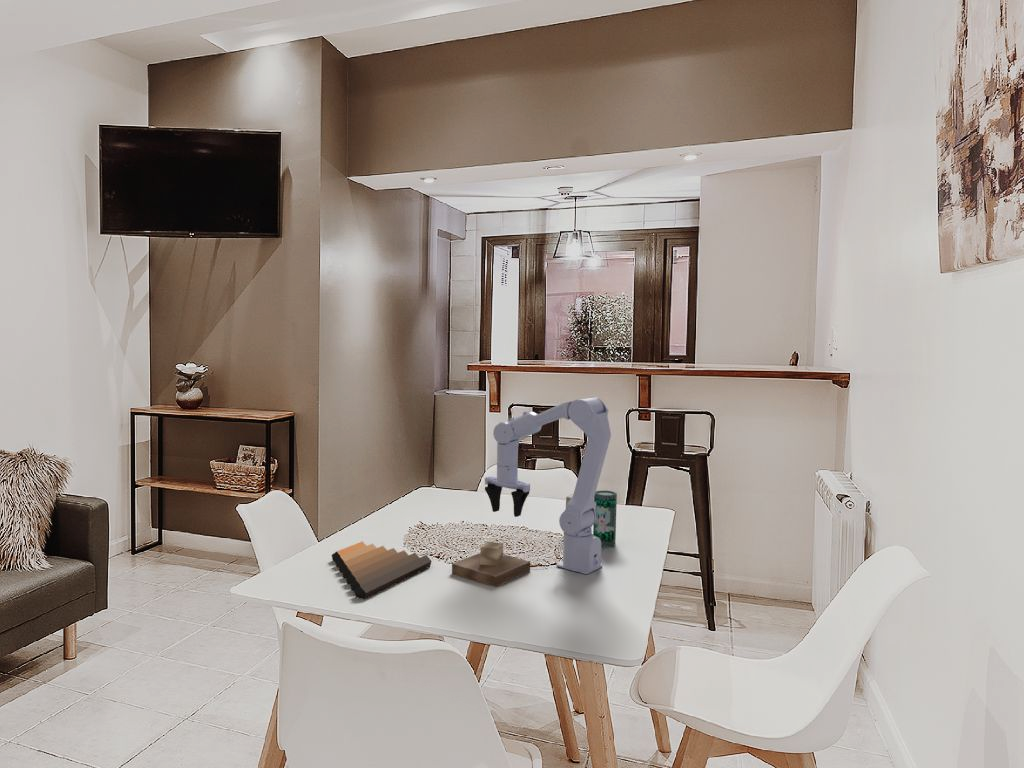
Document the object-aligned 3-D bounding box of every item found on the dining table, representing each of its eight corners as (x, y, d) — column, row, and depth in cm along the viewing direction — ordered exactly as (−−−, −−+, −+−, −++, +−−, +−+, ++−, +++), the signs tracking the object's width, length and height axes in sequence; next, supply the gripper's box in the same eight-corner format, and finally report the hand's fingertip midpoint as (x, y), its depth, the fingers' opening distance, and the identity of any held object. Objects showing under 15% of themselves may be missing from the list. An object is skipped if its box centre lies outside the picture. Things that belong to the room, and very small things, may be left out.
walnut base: (530, 571, 169) (530, 561, 169) (495, 587, 158) (495, 576, 158) (487, 559, 178) (488, 550, 178) (451, 573, 167) (452, 563, 167)
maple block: (502, 560, 169) (503, 543, 169) (497, 566, 165) (497, 548, 165) (486, 558, 171) (486, 541, 170) (480, 564, 166) (480, 546, 166)
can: (590, 545, 191) (591, 493, 190) (597, 539, 197) (599, 489, 196) (610, 548, 188) (612, 496, 187) (617, 542, 194) (619, 492, 193)
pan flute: (365, 602, 150) (431, 568, 171) (366, 587, 149) (431, 556, 171) (286, 580, 162) (357, 552, 183) (286, 567, 161) (357, 540, 183)
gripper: (537, 466, 182) (536, 515, 183) (496, 459, 191) (495, 506, 192) (521, 470, 177) (520, 520, 178) (480, 463, 186) (479, 511, 187)
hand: (506, 513), depth 185 cm, fingers open, 7 cm apart
